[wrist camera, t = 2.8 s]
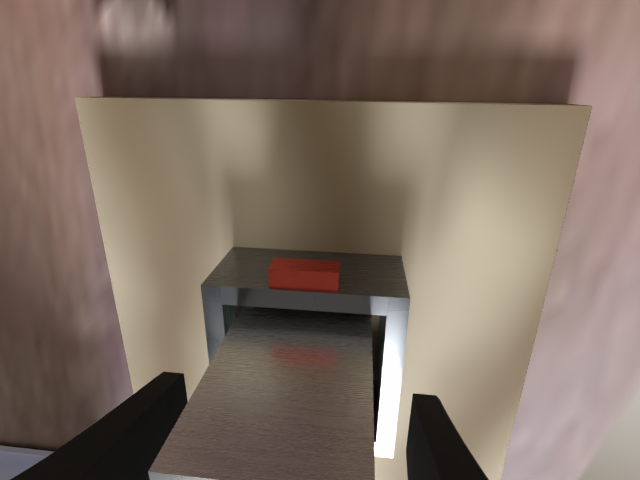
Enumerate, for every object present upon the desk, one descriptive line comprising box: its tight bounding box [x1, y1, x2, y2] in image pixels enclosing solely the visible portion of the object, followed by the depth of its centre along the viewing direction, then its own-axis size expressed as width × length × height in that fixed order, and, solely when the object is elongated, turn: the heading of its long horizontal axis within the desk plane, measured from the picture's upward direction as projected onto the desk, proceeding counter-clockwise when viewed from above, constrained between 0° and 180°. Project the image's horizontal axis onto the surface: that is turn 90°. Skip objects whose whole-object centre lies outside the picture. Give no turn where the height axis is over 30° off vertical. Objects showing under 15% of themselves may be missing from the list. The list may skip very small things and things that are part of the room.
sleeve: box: [201, 247, 410, 458], centre depth 14 cm, size 6×7×3 cm
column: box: [148, 306, 375, 480], centre depth 11 cm, size 4×4×8 cm
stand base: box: [75, 97, 592, 480], centre depth 16 cm, size 16×16×2 cm
